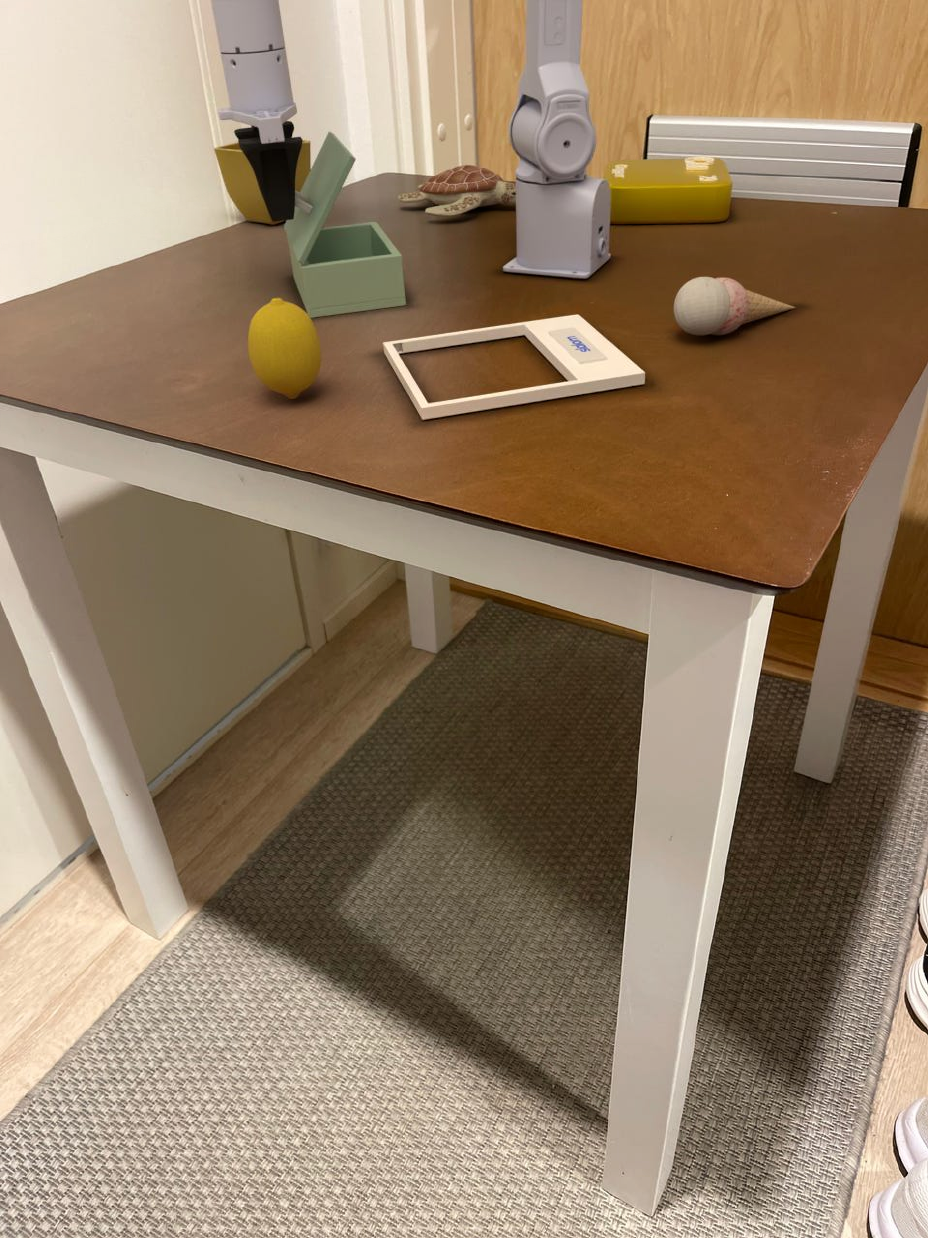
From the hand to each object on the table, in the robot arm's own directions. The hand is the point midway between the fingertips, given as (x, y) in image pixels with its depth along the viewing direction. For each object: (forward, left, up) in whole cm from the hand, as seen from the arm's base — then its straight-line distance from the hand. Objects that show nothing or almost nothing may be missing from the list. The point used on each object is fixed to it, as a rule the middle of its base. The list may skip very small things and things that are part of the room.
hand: (279, 212), depth 91 cm
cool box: (-4, -4, -8) cm, 10 cm away
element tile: (-26, -44, -8) cm, 52 cm away
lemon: (-14, +21, -8) cm, 27 cm away
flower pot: (+21, -27, -8) cm, 35 cm away
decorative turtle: (-1, -39, -8) cm, 39 cm away
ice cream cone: (-44, -5, -8) cm, 45 cm away
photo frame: (-28, +10, -8) cm, 31 cm away
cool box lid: (-3, -3, +1) cm, 4 cm away
